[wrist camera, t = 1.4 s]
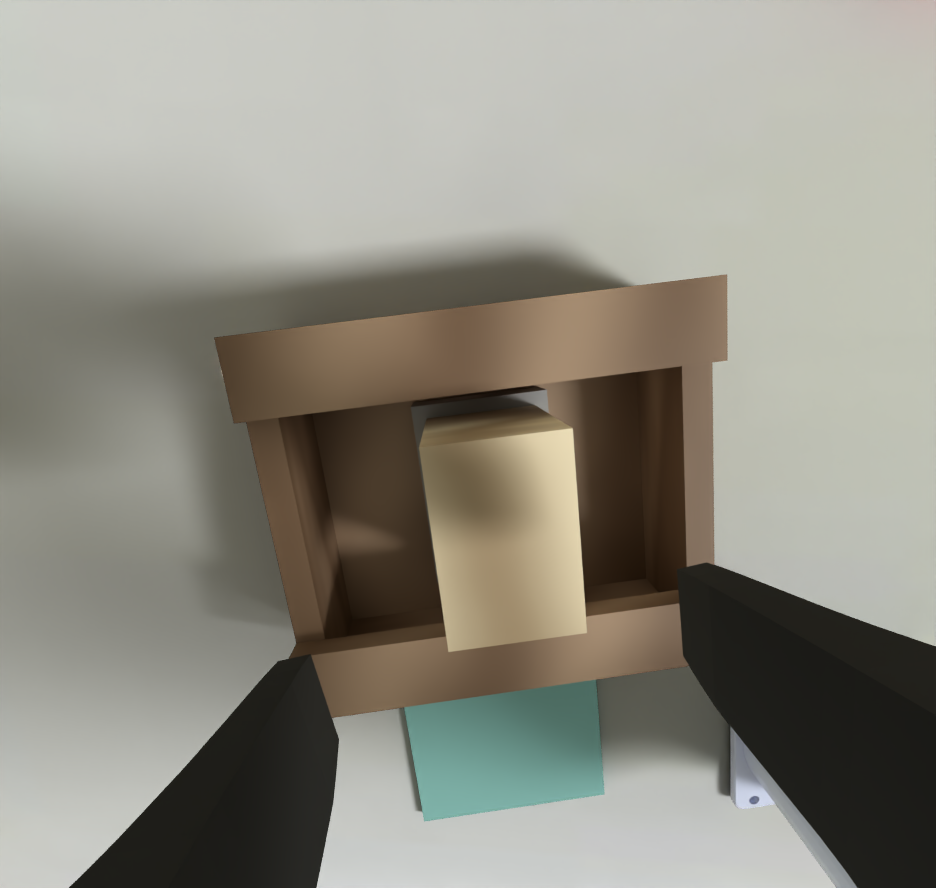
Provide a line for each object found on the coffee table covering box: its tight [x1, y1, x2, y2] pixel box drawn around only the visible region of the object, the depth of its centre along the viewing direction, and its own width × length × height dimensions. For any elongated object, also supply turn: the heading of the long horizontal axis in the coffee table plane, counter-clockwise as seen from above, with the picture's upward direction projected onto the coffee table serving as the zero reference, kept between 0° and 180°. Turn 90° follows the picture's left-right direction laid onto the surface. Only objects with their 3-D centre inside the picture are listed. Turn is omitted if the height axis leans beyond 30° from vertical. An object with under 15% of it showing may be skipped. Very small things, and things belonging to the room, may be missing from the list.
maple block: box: [419, 405, 587, 652], centre depth 15 cm, size 4×6×5 cm, turn 7°
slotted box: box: [214, 275, 727, 718], centre depth 17 cm, size 15×13×5 cm
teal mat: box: [404, 680, 604, 821], centre depth 22 cm, size 9×9×1 cm
